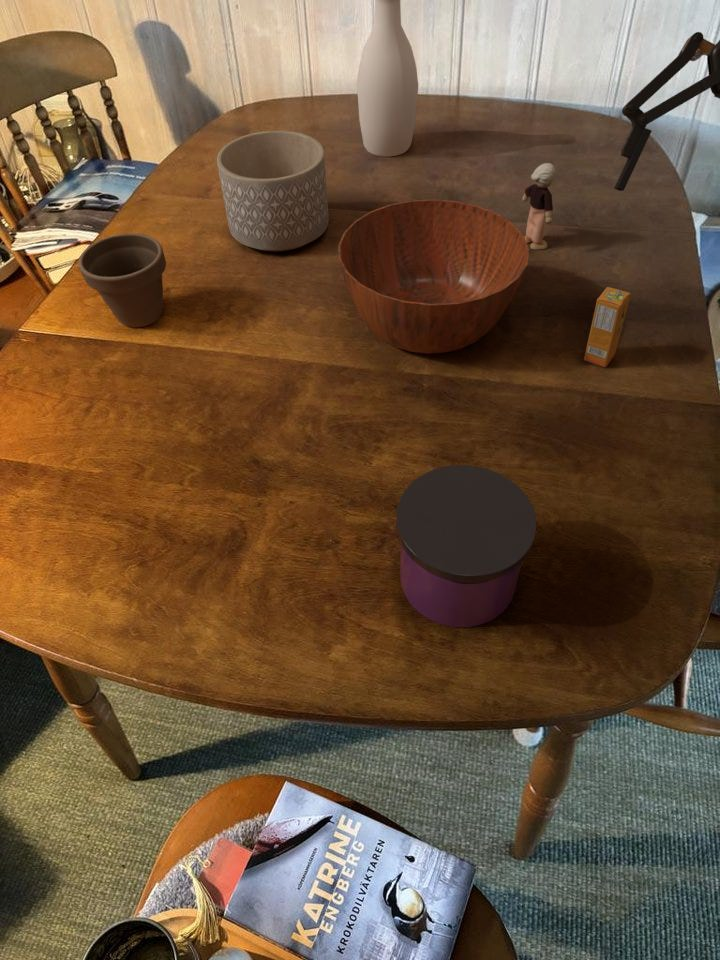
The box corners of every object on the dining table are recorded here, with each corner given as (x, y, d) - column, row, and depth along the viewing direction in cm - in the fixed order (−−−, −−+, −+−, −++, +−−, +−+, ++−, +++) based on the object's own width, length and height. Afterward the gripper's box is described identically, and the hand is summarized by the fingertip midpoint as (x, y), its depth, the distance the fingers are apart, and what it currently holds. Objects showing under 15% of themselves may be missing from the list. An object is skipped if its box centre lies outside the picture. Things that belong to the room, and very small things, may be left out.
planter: (342, 244, 116) (338, 167, 106) (243, 266, 113) (230, 189, 103) (311, 197, 126) (305, 123, 116) (220, 216, 123) (206, 141, 113)
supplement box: (590, 346, 98) (608, 284, 90) (614, 355, 97) (634, 292, 89) (580, 360, 96) (597, 297, 89) (604, 369, 95) (624, 306, 87)
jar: (534, 547, 77) (550, 486, 69) (501, 650, 69) (516, 595, 61) (419, 512, 80) (423, 450, 73) (376, 606, 73) (375, 549, 65)
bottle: (402, 164, 133) (405, 7, 114) (348, 153, 136) (342, -1, 117) (425, 139, 139) (431, -15, 120) (373, 129, 143) (371, -21, 123)
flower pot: (83, 320, 105) (59, 259, 97) (142, 283, 111) (124, 223, 103) (136, 349, 100) (115, 288, 92) (194, 309, 106) (179, 248, 98)
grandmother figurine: (558, 247, 114) (574, 169, 104) (540, 256, 112) (555, 177, 103) (525, 227, 118) (537, 150, 108) (507, 234, 117) (518, 157, 107)
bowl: (390, 399, 92) (390, 327, 84) (314, 296, 107) (308, 226, 98) (552, 343, 99) (568, 271, 90) (459, 253, 114) (466, 183, 105)
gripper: (874, 54, 77) (765, 248, 86) (657, -28, 78) (569, 172, 86) (911, 40, 70) (788, 252, 79) (672, -50, 71) (576, 170, 79)
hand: (673, 211), depth 83 cm, fingers open, 13 cm apart
